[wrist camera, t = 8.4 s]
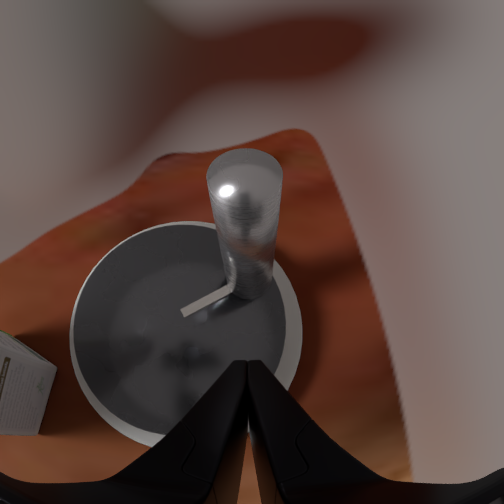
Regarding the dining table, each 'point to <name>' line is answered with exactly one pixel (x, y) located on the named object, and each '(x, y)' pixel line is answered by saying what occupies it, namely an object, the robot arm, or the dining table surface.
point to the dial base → (282, 373)
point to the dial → (186, 300)
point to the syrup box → (22, 387)
